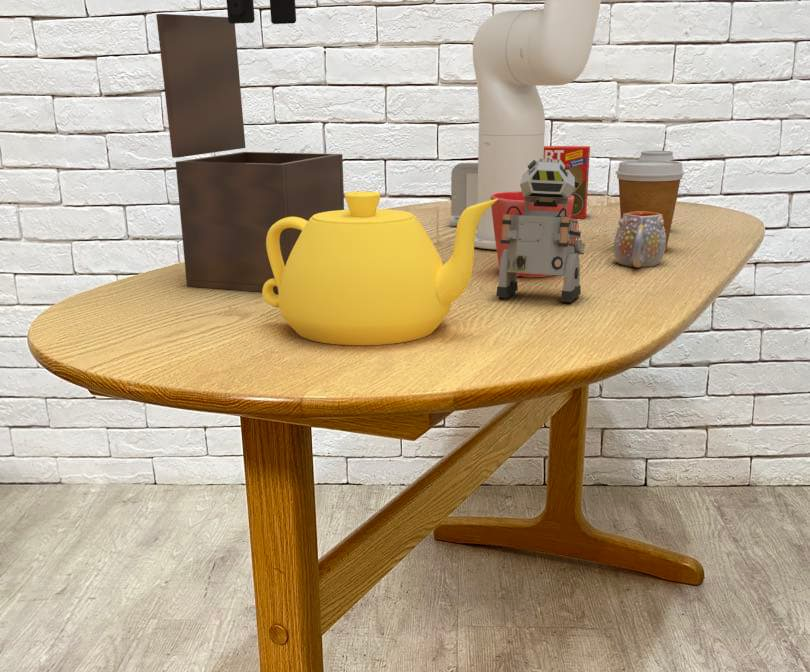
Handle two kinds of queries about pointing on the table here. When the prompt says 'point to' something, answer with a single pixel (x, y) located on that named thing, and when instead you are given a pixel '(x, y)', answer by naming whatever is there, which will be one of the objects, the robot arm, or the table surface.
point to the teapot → (367, 273)
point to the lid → (201, 84)
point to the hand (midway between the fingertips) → (263, 23)
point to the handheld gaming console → (463, 189)
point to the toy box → (574, 173)
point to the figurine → (542, 232)
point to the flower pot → (516, 200)
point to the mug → (640, 239)
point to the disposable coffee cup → (650, 188)
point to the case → (249, 211)
